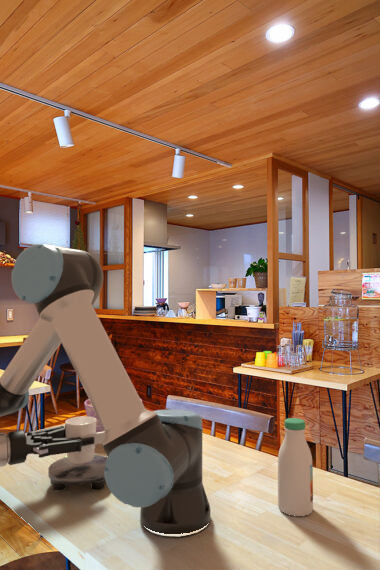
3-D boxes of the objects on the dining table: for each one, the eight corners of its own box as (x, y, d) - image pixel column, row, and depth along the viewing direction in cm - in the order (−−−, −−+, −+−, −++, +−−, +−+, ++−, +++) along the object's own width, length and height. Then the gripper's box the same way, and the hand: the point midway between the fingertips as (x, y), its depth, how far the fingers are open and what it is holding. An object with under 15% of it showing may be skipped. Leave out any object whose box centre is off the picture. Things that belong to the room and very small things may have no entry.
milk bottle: (307, 521, 94) (306, 427, 94) (272, 512, 98) (272, 421, 98) (317, 506, 100) (316, 418, 101) (284, 498, 104) (284, 413, 105)
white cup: (88, 466, 108) (88, 425, 109) (59, 463, 110) (59, 423, 110) (101, 455, 116) (101, 417, 116) (73, 452, 118) (73, 415, 118)
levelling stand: (122, 487, 111) (122, 469, 111) (58, 503, 102) (59, 483, 102) (97, 464, 125) (97, 449, 125) (39, 477, 116) (39, 460, 117)
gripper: (-1, 451, 112) (85, 436, 124) (15, 480, 95) (114, 459, 107) (-1, 422, 112) (85, 409, 125) (16, 445, 95) (114, 428, 107)
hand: (98, 432), depth 116 cm, fingers closed on white cup, 7 cm apart
